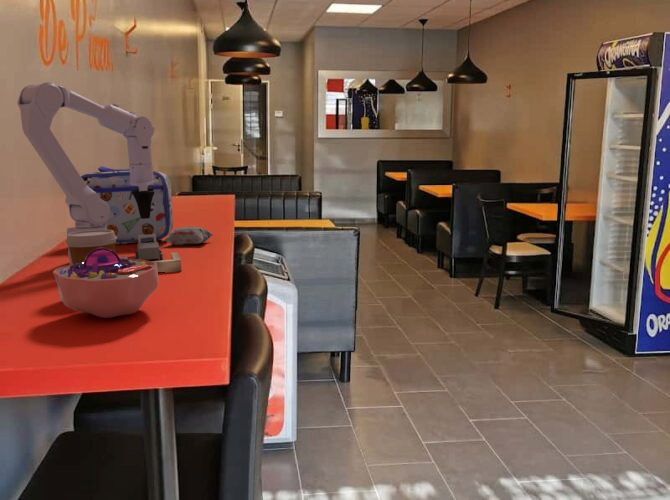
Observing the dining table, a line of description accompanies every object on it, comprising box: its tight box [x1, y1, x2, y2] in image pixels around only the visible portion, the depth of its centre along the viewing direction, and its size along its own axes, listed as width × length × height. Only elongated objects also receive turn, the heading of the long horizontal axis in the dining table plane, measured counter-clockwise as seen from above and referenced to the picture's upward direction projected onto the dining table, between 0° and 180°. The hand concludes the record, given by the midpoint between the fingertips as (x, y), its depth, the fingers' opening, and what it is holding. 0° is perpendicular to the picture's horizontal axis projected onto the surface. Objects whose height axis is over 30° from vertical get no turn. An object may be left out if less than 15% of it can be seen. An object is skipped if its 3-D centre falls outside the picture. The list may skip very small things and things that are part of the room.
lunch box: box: [80, 166, 174, 245], centre depth 203 cm, size 28×10×22 cm, turn 92°
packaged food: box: [161, 226, 214, 246], centre depth 197 cm, size 9×12×5 cm
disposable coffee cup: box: [65, 230, 117, 264], centre depth 138 cm, size 10×10×12 cm
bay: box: [120, 251, 183, 273], centre depth 162 cm, size 13×12×2 cm
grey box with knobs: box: [134, 234, 164, 261], centre depth 176 cm, size 6×9×5 cm
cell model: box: [52, 248, 160, 319], centre depth 121 cm, size 17×20×11 cm
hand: (145, 217), depth 184 cm, fingers open, 6 cm apart
